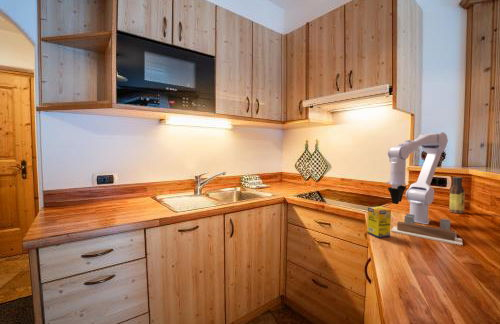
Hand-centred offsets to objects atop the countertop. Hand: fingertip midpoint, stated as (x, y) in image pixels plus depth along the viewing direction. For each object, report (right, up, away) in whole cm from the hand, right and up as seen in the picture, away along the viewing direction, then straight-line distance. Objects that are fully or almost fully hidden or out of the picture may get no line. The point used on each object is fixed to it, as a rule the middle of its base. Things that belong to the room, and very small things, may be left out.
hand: (396, 202), depth 105 cm
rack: (+8, -11, -7) cm, 15 cm away
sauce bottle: (+48, -10, +23) cm, 54 cm away
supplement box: (-15, -11, -13) cm, 23 cm away
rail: (+3, -10, -13) cm, 17 cm away
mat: (+3, -11, -13) cm, 17 cm away
